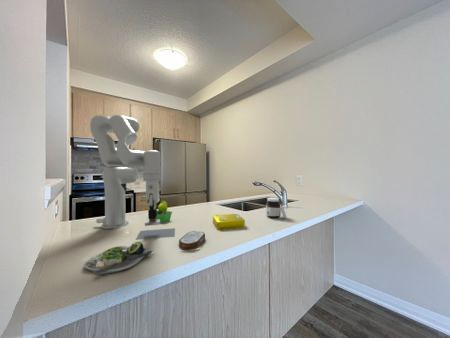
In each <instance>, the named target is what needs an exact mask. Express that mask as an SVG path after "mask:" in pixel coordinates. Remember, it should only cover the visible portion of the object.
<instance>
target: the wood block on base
mask: <svg viewBox="0 0 450 338" xmlns="http://www.w3.org/2000/svg"><path fill="white" fill-rule="evenodd" d="M153 205H154V204H153ZM156 208H157V203H155V210H156ZM160 224H161V222H160V219H157V220H156V219H147V220H146V221H145V222H144V227H146V226H158V225H160Z"/></svg>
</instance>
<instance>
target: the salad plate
mask: <svg viewBox="0 0 450 338" xmlns="http://www.w3.org/2000/svg"><path fill="white" fill-rule="evenodd" d="M152 253H153V250H149V249H148V248H145V247H144V244H143V243H142V242H141V241H135V242H133V243H131V245H129V246H127V245H125V246H124V245H120V246H119V245H118V246H114V247H110V248H108V249H105V250H104V251H101V252H100V253H99V254H96V255H95V256H93V257H91V258H89V259H88V260H87V261H85V262H84V265H83V266H84V269H85V270H87V271H89V272H91V273H93V275H94V276H99V275H104V274H112V273H117V272H121V271H122V272H123V271H125V270H128V269H131V268H133V267H134V266H136V265H137V264H138V263H140V262H142V260H143V259H145V258H146V257H147V256H149V255H151V254H152ZM101 260H102V262H103V265H104V266H99V267H98V266H97V264H98V263H99V262H100V261H101ZM98 261H99V262H98ZM97 262H98V263H97Z"/></svg>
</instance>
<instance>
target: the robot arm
mask: <svg viewBox="0 0 450 338" xmlns="http://www.w3.org/2000/svg"><path fill="white" fill-rule="evenodd" d="M89 125H90V126H89V127H90V129H89V130H90V133H91V136H93V139H94V140H95V143H96V146H97V149H98V153H99V156H100V160H101V162H102V164H104V165H105V166H108V167H106V168H103V171H102V174H101V175H102V180H103V181H102V182H103V185H104V217H103V218H96V220H95V221H96V223H97V224H101V228H102V229H103V230H104V229H105V230H113V229H116V228H122V227H125V226H128V225H129V223H130V222H129V220H126V190H125V188H124V187H123V186H122V184H123V185H124V184H132V183H135V182H136V181H137V180H138V177H139V173H138V168H139V167H140V168H142V169H143V171H142V173H143V175H142V177H143V178H142V179H143V182H145V199H146V200H145V201H146V202H145V203H146V204H148V210H147V211H148V215H147V216H148V217H147V218H148V219H147V220H149V219H156V217H157V211H158V207H156V210H155V203H156V204H158V203H159V202H160V181H162V176H161V175H162V166H161V165H162V161H161V160H162V159H161V152H160V151H158V150H154V149H153V150H151V149H150V150H145V151H144V150H142V151H141V150H132V149H130V148H129V146H131V145H132V144H134V143H135V142H136V141H137V138H138V135H137V133H138V132H139V130H140V124H139V121H138V120H137V119H135V118H133V117H129V116H126V115H121V114H114V115H111V116H106V115H94V116H93V117H92V118H90V124H89ZM108 133H109V134H108ZM110 133H112V134H114V135H115V136H116V138H117V140H118V141H117V143H116V142H115V140H114V139H113V137H112V136H111V135H110ZM137 167H138V168H137ZM153 204H154V205H153Z"/></svg>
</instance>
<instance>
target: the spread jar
mask: <svg viewBox="0 0 450 338" xmlns="http://www.w3.org/2000/svg"><path fill="white" fill-rule="evenodd" d="M279 201H280V198H278V197H267V202H266V204H265V205H266V206H265V207H266V209H265V210H266V211H265V213H266V217H267V218H269V219H279V218H280V217H281V216H282V218H283V219H287V214H286V211H285V209H284V207H283V206H282V207H281V203H280V202H279Z"/></svg>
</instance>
